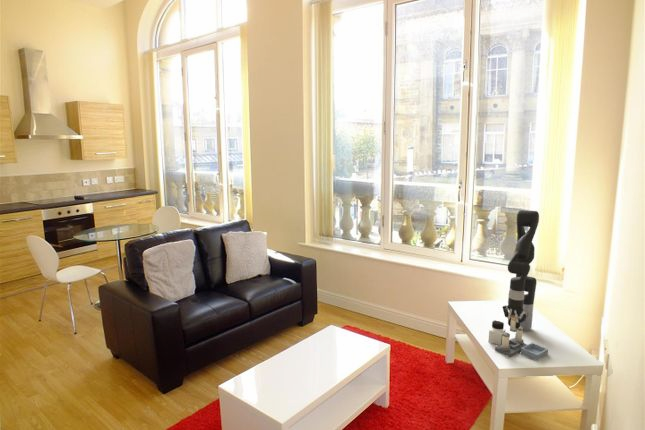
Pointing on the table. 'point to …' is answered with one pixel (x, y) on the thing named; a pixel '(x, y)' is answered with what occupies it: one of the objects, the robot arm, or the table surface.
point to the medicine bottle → (496, 332)
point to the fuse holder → (511, 343)
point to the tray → (534, 351)
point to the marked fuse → (513, 324)
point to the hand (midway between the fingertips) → (513, 326)
